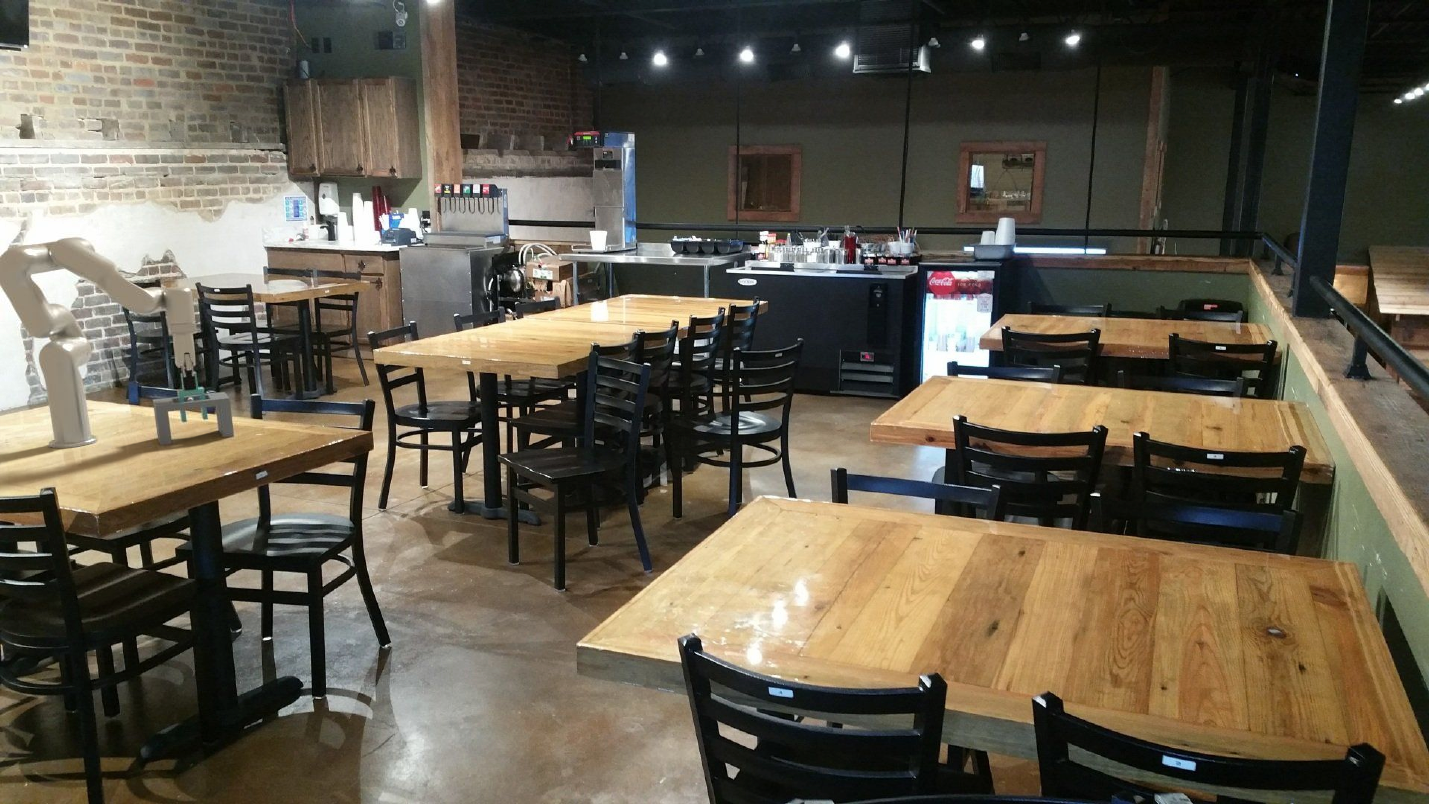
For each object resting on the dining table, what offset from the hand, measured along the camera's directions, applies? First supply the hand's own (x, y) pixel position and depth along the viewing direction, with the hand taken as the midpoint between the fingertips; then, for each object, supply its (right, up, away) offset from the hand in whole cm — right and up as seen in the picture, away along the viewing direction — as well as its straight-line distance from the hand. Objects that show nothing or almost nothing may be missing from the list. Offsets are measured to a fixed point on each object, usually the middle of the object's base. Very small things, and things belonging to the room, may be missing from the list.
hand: (189, 388), depth 312 cm
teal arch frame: (0, -10, +2) cm, 10 cm away
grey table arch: (0, -15, +3) cm, 15 cm away
